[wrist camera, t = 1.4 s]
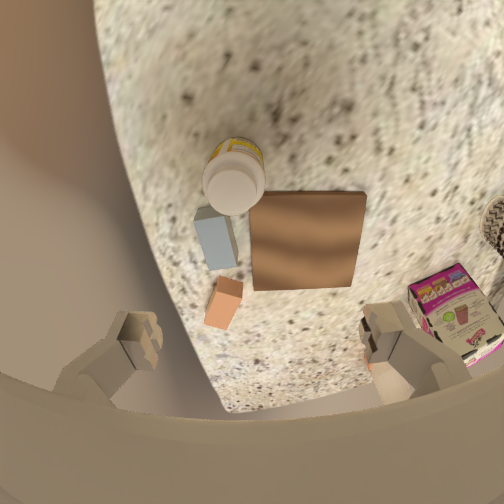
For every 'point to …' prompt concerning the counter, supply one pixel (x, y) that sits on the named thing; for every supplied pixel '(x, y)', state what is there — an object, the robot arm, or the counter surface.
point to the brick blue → (216, 238)
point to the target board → (305, 239)
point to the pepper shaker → (389, 383)
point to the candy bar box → (457, 314)
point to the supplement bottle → (234, 177)
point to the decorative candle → (494, 223)
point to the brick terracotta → (223, 302)
